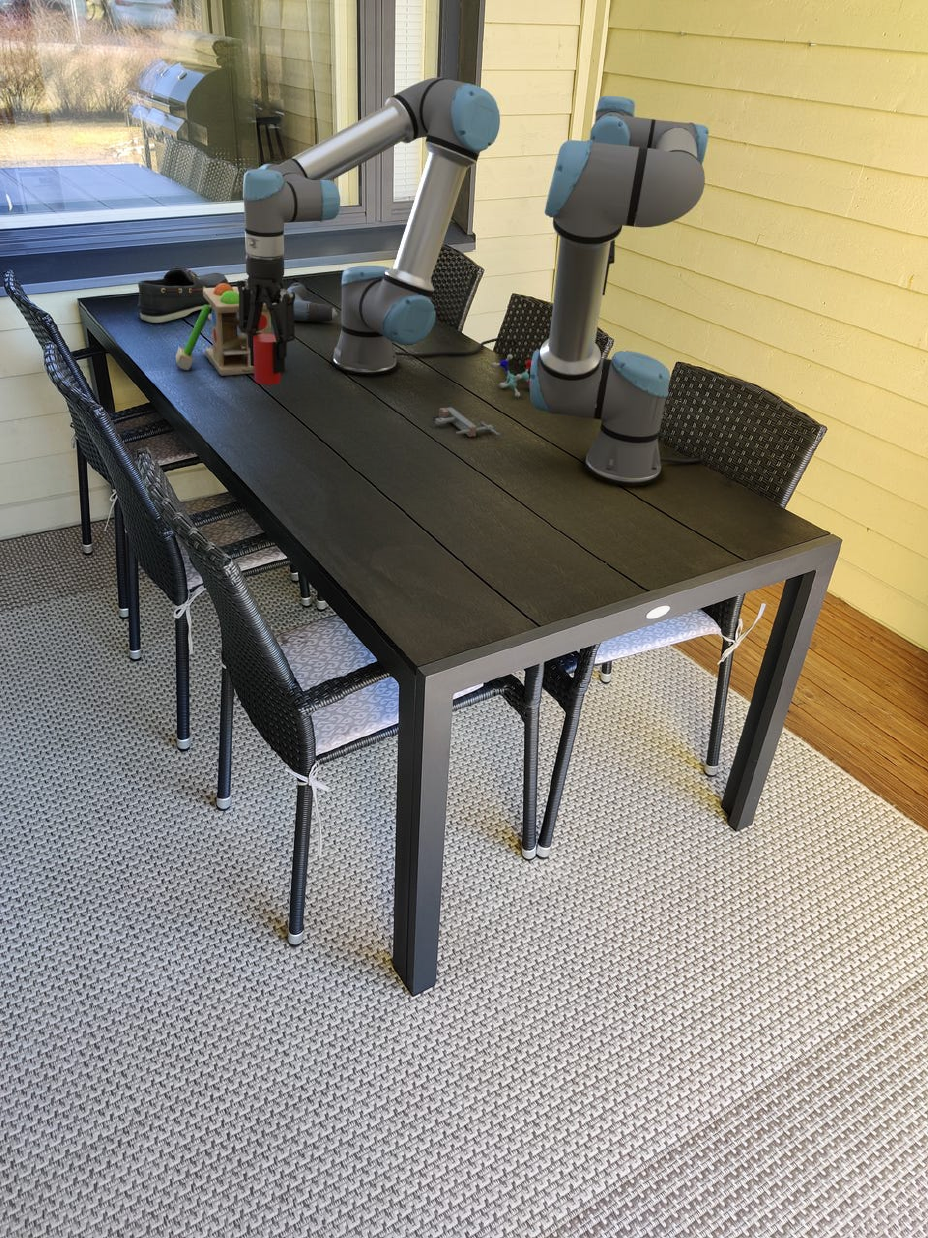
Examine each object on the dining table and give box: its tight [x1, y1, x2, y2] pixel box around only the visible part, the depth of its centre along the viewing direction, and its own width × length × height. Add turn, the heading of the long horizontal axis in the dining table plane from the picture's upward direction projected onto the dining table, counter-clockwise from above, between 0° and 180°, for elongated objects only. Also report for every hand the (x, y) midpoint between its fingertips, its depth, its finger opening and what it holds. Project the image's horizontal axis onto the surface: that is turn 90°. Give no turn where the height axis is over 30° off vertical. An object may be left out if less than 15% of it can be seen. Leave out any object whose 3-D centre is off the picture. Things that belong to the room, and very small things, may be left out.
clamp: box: [434, 407, 502, 438], centre depth 210 cm, size 15×2×10 cm
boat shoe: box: [137, 266, 230, 324], centre depth 260 cm, size 13×33×10 cm, turn 147°
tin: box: [253, 333, 282, 386], centre depth 207 cm, size 6×6×9 cm
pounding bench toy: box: [174, 283, 275, 377], centre depth 225 cm, size 23×14×18 cm, turn 116°
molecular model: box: [491, 353, 532, 398], centre depth 230 cm, size 12×10×10 cm
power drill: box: [281, 282, 338, 322], centre depth 265 cm, size 5×19×20 cm
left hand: (267, 367), depth 208 cm, fingers closed on tin, 5 cm apart
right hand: (588, 285), depth 214 cm, fingers open, 13 cm apart
